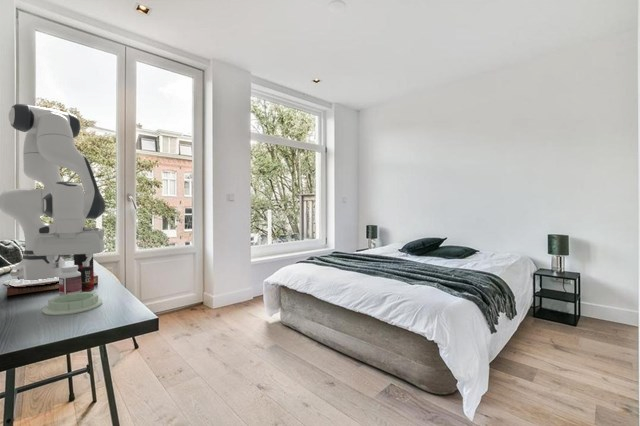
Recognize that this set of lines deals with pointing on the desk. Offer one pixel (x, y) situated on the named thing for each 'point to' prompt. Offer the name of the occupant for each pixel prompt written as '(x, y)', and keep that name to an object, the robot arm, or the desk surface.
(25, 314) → the desk surface
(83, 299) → the dish
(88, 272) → the deodorant
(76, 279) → the pill bottle
